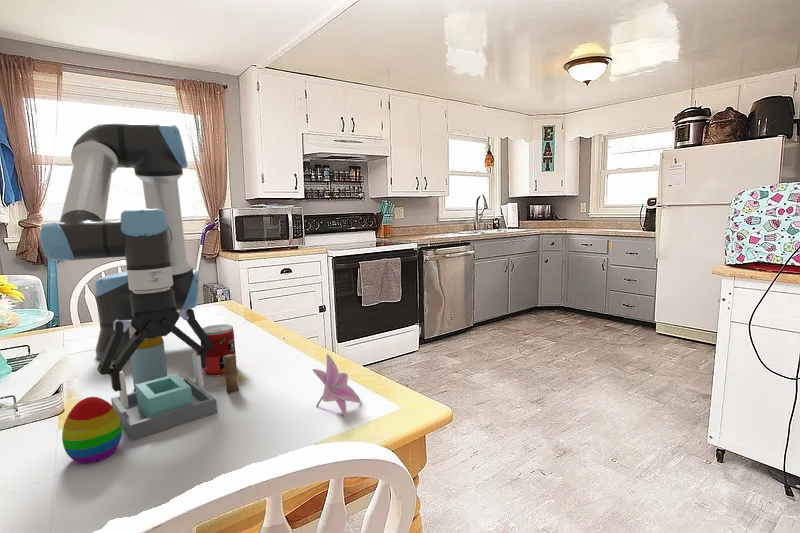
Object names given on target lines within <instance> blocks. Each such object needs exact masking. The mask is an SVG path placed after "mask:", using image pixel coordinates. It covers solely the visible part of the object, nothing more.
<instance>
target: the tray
mask: <svg viewBox="0 0 800 533" xmlns="http://www.w3.org/2000/svg"><path fill="white" fill-rule="evenodd" d="M181 379H182V380H183V381H184V382H186V383H187V384H188V385H189V386H191V391H192V401H193V404H191V405H188V406H185V407H181V408H178V409H175V410H172V411H168V412H165V413H162V414H159V415H155V416H152V417H149V418H146V417H145V416H144V415H143V413H142V412H141V411H140V410H139V408H138V403H137V394H136V391H133V392H130V393H127V398H128V406H129V407H127V408H123V406H122V405H121V402H120V395H118V396H114V397H112V398H110V400H111V401H110V402H111V405H112V406H113V407H114V409H115V410H116V411H117V413H118V415H119V417H120V420H121V424H122V429H124V431H125V432H126V433H127V435H128V436H129V438H130V440H131V441H134V440H138V439H141V438H144V437H148V436H150V435H153V434H156V433H158V432H162V431H165V430H168V429H171V428H174V427H177V426H180V425H183V424H186V423H189V422H192V421H195V420H197V419H200V417H201V418H204V417H206V415H207V416H210V415H213V414H216V413H218V406H217V405H218V404H217V398H216V397H214V396H213V395H212V394H211V393H209V392H208V391H207V390H205V388H203V386H201V387H199V386H198V385H197V384H195V380H193V379H191V378H190V377H186V378H181ZM215 412H216V413H215ZM212 413H213V414H212ZM209 414H210V415H209ZM203 416H204V417H203ZM182 423H183V424H182ZM179 424H180V425H179ZM170 427H171V428H170Z"/></svg>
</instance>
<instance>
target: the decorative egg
mask: <svg viewBox="0 0 800 533" xmlns="http://www.w3.org/2000/svg"><path fill="white" fill-rule="evenodd" d="M61 433H62V435H61V436H62V437H61V440H62V445H63V449H64V452H66V454H67V456H68V457H69V458H70V459H72V460H73V461H74V462H75V463H78V464H92V463H95V462H98V461H101V460H102V461H103V459H106V458H108V457H110V456H111V455H113V453H114V452H116V450H117V448H118V447H119V445H120V443H121V439H122V435H123V434H122V433H123V426H122V424H121V420H120V417H119V415H118V413H117V411H116V410H115V409H114V407H113V406H112V403H110V402H108V401H107V400H105V399H103V398H100V397H97V396H89V397H88V396H87V397H85V398H83V399H81V400H79V401H78V402H77V403H76V404H75V405H74V406H73V407H72V408H71V410H70V411H69V413H68V415H67V416H66V418H65V421H64V423H63V428H62V432H61Z"/></svg>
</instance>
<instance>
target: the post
mask: <svg viewBox="0 0 800 533" xmlns="http://www.w3.org/2000/svg"><path fill="white" fill-rule="evenodd" d="M224 367H225V376H224V377H225V386H226V393H227V392H228V394H234V393H237V392H239V390H240V389H239V378H238V377H239V376H238V366H237V355H235V354H229V355H226V356H224ZM233 392H234V393H233Z"/></svg>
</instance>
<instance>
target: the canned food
mask: <svg viewBox="0 0 800 533" xmlns="http://www.w3.org/2000/svg"><path fill="white" fill-rule="evenodd" d="M202 329H203V330H204V332H205V333H206V335H207V336H208V337H209V339H210V340H211V342H212V343H213V345H214V347H213V349H209V350H208V351H207V353H206V354H205V359H206V368H204V369H202V371H203V373H204V374H205V375H207V376H209V375H210V376H209V377H218V375H220V376H224V375H225V367H224V356H226V355H229V354H235V355H236V344H235V343H236V342H235V333H234V332H235V330H234V326H233V325H231V324H227V323H226V324H224V323H223V324H213V325H208V326H205V327H202ZM199 340H200V339H199ZM201 345H203V343H202V342H201V340H200V346H201ZM236 356H237V355H236Z"/></svg>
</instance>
